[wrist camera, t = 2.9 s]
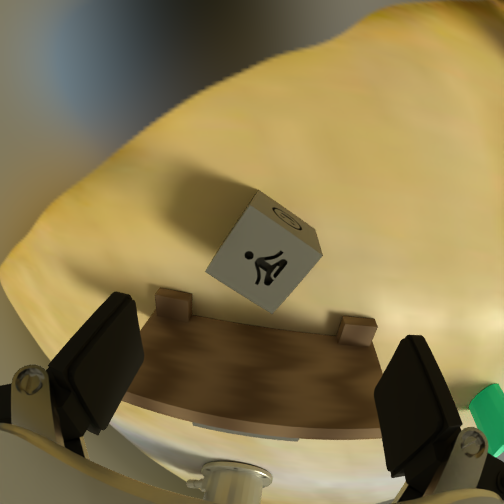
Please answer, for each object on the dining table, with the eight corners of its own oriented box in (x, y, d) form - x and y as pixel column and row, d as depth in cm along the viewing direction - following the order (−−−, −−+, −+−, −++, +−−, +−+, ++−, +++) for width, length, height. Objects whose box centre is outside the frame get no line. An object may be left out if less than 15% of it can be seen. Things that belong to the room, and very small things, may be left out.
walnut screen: (379, 319, 22) (412, 407, 13) (358, 367, 25) (375, 451, 16) (155, 286, 24) (96, 360, 15) (160, 337, 26) (116, 412, 17)
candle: (462, 413, 27) (483, 473, 16) (480, 387, 25) (509, 450, 14) (487, 405, 27) (510, 459, 16) (505, 380, 24) (534, 435, 13)
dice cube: (275, 278, 22) (272, 314, 18) (222, 243, 22) (204, 271, 17) (315, 229, 20) (322, 255, 16) (258, 189, 20) (249, 204, 15)
